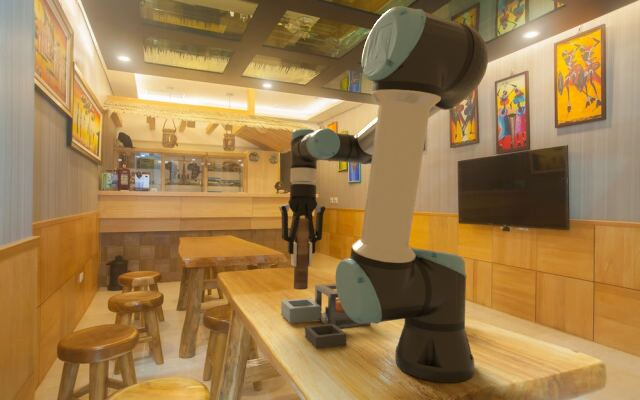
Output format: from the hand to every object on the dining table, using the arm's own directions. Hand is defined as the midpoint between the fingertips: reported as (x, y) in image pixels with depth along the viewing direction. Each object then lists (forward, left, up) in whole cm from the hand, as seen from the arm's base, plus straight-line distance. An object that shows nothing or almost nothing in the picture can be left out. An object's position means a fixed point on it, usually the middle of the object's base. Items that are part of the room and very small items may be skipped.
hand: (301, 264), depth 102 cm
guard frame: (-6, -10, -15) cm, 19 cm away
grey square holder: (0, 0, -15) cm, 15 cm away
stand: (-19, 0, -15) cm, 24 cm away
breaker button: (-6, -10, -14) cm, 18 cm away
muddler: (0, 0, -7) cm, 7 cm away
